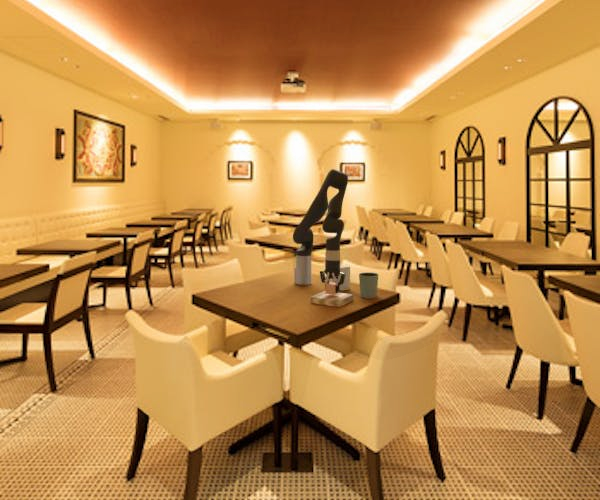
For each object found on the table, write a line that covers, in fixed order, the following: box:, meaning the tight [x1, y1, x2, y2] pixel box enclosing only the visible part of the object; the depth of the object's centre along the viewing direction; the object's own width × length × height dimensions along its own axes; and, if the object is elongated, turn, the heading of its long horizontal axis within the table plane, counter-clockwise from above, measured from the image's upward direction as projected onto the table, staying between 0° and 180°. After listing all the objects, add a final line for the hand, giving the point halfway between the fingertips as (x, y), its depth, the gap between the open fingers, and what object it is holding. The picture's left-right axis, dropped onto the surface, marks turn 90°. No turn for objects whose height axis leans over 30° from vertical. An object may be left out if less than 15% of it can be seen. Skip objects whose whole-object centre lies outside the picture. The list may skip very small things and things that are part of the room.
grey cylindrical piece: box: [358, 272, 379, 299], centre depth 246 cm, size 10×10×12 cm
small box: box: [332, 264, 351, 291], centre depth 263 cm, size 8×6×13 cm
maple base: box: [310, 290, 354, 308], centre depth 236 cm, size 16×16×3 cm
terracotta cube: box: [324, 281, 340, 295], centre depth 235 cm, size 5×5×5 cm
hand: (332, 291), depth 235 cm, fingers closed on terracotta cube, 5 cm apart
